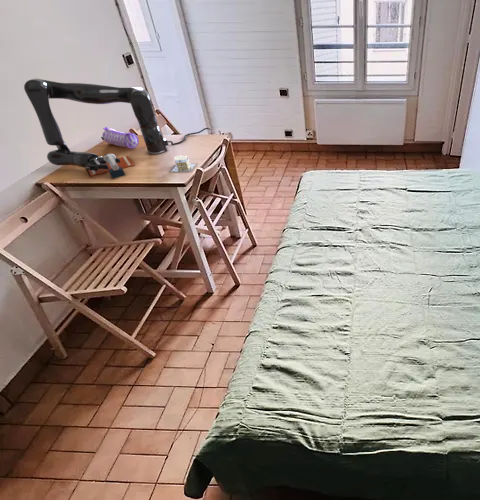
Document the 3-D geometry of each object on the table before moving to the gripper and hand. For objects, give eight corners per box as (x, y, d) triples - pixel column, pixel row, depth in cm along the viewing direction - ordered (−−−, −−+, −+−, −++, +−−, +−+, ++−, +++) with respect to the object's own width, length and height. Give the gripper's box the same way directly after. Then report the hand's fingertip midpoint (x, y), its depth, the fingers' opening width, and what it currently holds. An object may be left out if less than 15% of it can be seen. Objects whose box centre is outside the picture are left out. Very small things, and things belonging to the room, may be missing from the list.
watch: (121, 170, 194) (113, 150, 186) (126, 176, 189) (118, 156, 182) (109, 173, 191) (100, 153, 184) (114, 180, 186) (105, 159, 179)
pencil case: (103, 145, 222) (97, 129, 216) (117, 139, 229) (111, 124, 223) (129, 151, 214) (123, 135, 208) (143, 145, 221) (137, 129, 215)
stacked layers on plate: (196, 164, 200) (193, 154, 197) (190, 171, 193) (187, 161, 189) (177, 164, 200) (174, 154, 197) (170, 171, 193) (167, 161, 190)
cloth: (128, 156, 208) (127, 155, 208) (133, 165, 199) (133, 164, 199) (86, 166, 199) (86, 165, 199) (91, 176, 190) (90, 174, 190)
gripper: (71, 158, 182) (99, 162, 178) (94, 147, 193) (121, 150, 189) (77, 173, 186) (105, 177, 183) (100, 161, 197) (127, 164, 194)
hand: (113, 163), depth 186 cm, fingers open, 7 cm apart
